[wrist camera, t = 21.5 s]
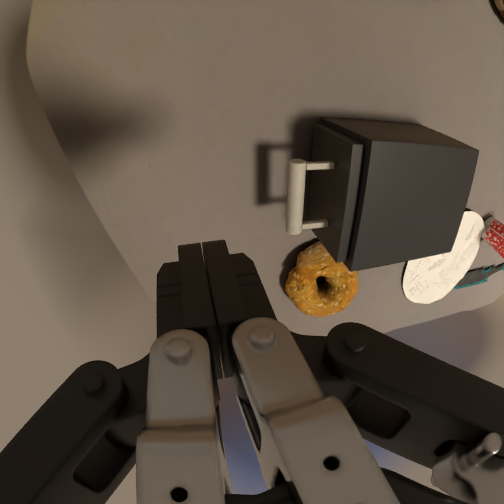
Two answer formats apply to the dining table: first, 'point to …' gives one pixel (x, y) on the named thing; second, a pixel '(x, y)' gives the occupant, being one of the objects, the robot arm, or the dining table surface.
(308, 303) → the bagel
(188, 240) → the dining table surface
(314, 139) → the drawer
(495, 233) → the beverage cup
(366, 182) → the cabinet
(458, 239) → the plaque
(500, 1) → the donut
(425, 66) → the dining table surface
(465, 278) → the knife
